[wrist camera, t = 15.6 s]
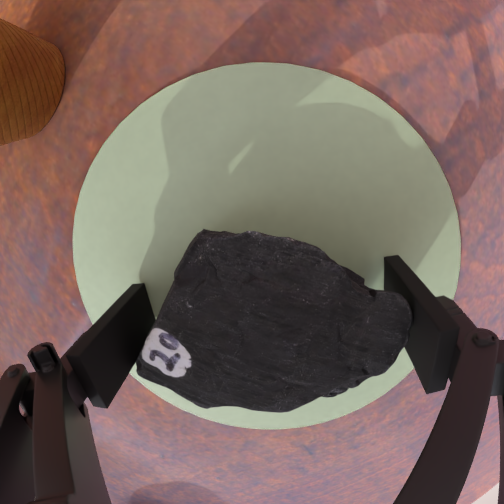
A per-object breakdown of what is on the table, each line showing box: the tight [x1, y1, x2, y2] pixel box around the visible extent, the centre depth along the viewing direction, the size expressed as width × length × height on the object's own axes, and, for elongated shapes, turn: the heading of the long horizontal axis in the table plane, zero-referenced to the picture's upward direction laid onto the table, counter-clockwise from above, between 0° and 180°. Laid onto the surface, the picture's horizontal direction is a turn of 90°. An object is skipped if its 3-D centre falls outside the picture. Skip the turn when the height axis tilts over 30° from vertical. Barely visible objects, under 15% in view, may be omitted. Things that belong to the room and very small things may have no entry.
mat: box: [73, 62, 461, 429], centre depth 16 cm, size 22×22×1 cm
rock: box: [136, 229, 413, 413], centre depth 13 cm, size 9×10×6 cm
